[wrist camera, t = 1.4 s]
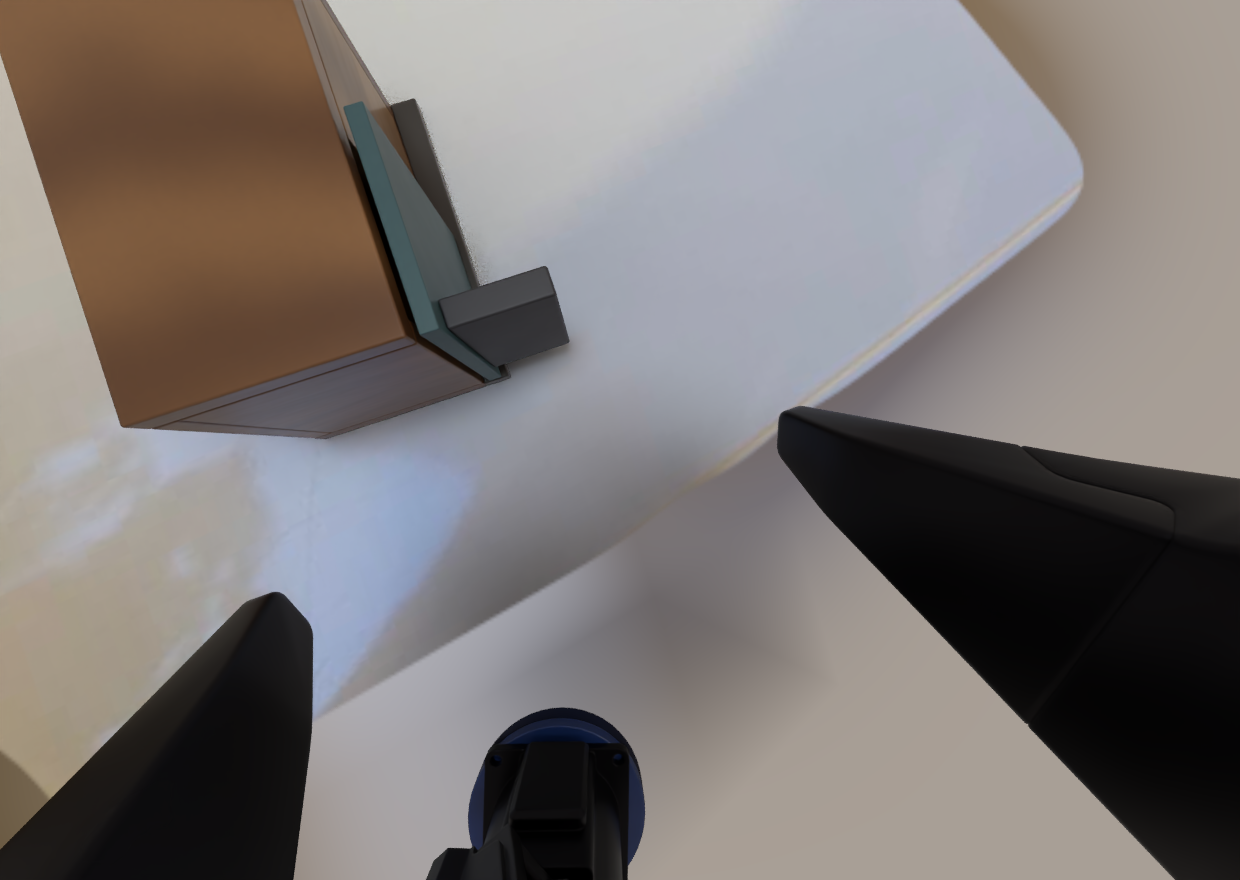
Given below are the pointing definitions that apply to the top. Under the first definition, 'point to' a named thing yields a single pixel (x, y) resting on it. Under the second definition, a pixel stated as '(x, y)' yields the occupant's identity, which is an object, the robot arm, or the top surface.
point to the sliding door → (452, 270)
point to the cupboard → (228, 212)
